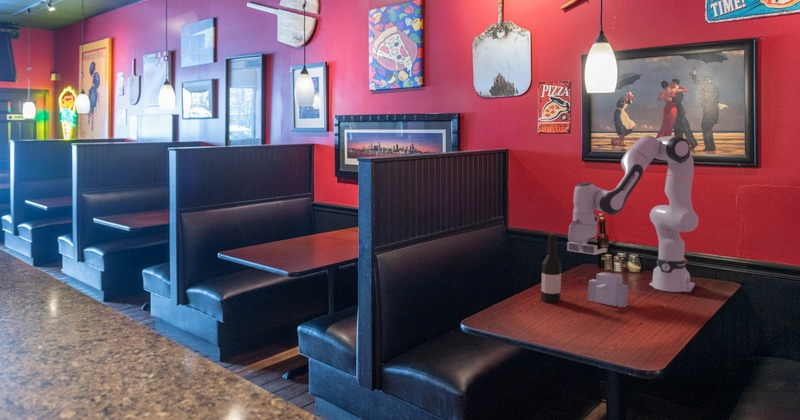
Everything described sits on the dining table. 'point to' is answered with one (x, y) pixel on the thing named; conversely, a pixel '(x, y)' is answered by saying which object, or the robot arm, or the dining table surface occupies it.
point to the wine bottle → (551, 274)
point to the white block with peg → (608, 290)
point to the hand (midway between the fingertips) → (582, 248)
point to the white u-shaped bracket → (585, 248)
